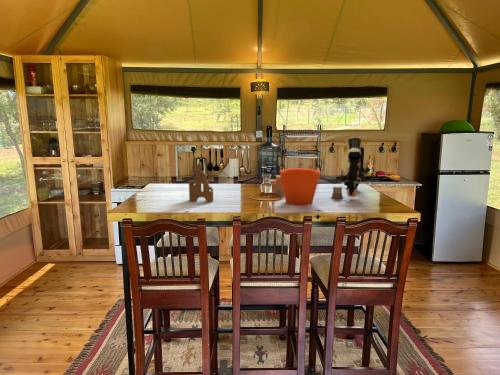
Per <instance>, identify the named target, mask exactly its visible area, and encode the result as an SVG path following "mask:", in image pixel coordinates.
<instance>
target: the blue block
mask: <svg viewBox="0 0 500 375" xmlns="http://www.w3.org/2000/svg"><path fill="white" fill-rule="evenodd" d="M342 192H343V186H342V185H334V186H333V187H332V194H341V193H342ZM342 194H343V193H342Z"/></svg>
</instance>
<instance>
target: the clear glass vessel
mask: <svg viewBox="0 0 500 375" xmlns="http://www.w3.org/2000/svg"><path fill="white" fill-rule="evenodd" d="M269 180H270V182H271V184H272V192H273V193H278V194H279V195H284V190H283V185H282V180H281V175H278V174H277V175H276V174H275V179H269Z"/></svg>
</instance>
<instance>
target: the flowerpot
mask: <svg viewBox="0 0 500 375" xmlns="http://www.w3.org/2000/svg"><path fill="white" fill-rule="evenodd" d="M321 172H322V171H321V170H317V169H313V168H300V167H299V168H283V169H280V170H279V174H280V175H281V180H282V185H283V190H284V194H283V195H284V199H285V203H286V204H287V205H291V206H302V207H303V206H304V207H305V206H310V205H312V204H313V201H314V197H315V194H316V190H317V187H318V183H319V180H320V176H321V174H322V173H321Z"/></svg>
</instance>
